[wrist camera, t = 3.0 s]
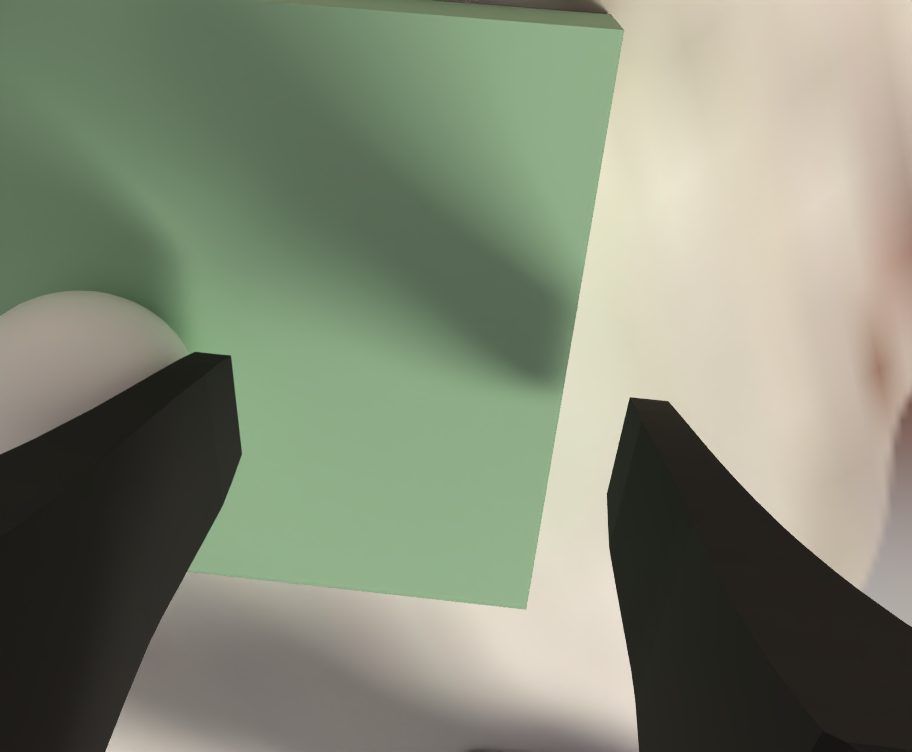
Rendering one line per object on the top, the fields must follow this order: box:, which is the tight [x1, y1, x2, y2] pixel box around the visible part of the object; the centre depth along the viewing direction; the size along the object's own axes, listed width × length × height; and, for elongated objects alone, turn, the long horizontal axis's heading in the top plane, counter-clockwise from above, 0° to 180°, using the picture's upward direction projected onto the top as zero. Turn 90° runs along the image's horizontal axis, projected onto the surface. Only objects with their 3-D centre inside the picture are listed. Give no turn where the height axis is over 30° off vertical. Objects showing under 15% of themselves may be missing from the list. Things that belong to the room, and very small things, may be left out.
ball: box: [0, 290, 189, 454], centre depth 12 cm, size 4×4×4 cm
